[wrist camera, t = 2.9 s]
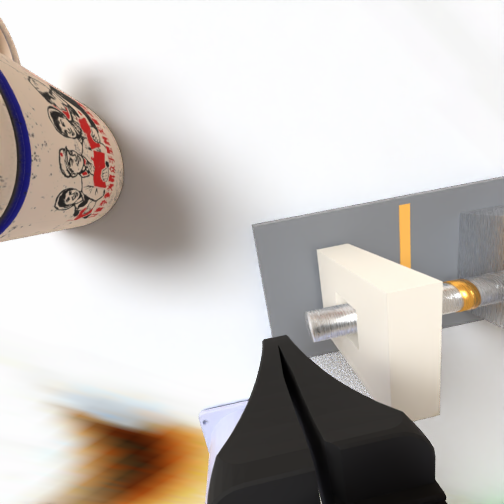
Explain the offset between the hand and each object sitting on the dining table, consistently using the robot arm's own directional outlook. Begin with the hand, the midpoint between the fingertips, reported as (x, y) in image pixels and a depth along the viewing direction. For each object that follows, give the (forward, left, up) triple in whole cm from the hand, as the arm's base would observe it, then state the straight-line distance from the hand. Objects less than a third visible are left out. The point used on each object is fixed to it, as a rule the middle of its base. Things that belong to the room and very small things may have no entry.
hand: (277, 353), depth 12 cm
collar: (0, -6, -6) cm, 8 cm away
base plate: (0, -11, -7) cm, 14 cm away
